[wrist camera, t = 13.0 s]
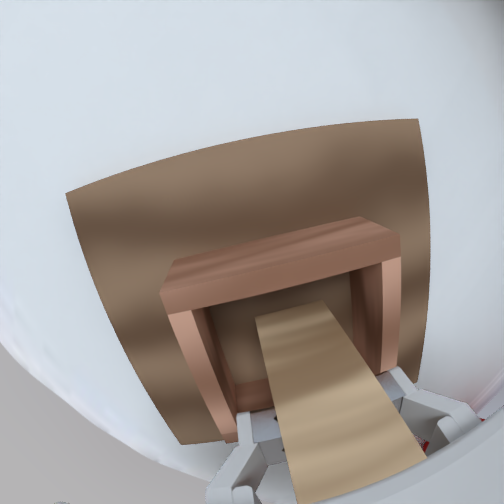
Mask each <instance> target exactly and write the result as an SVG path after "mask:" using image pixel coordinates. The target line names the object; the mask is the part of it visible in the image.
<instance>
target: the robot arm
mask: <svg viewBox="0 0 504 504" xmlns="http://www.w3.org/2000/svg"><path fill="white" fill-rule="evenodd" d="M374 376H375V377H376V379H377V380H378V382H379V383H380V385H381V386H382V388H383V389H384V391H385V392H386V394H387V395H388V397H389V398H390V400H391V401H392V403H393V404H394V406H395V408H396V409H397V411H398V412H399V414H400V415H401V417H402V418H403V420H404V421H405V423H406V425H407V426H408V428H409V429H410V431H411V432H412V434H414V435H416V436H418V437H420V438H422V439H424V440H426V441H428V442H430V443H429V445H428V447H427V449H426V452H425V455H426V456H427V459H425V460H423V461H421V462H419V463H417V464H415V465H413V466H411V467H409V468H407V469H405V470H403V471H401V472H398V473H396V474H394V475H392V476H389V477H387V478H385V479H382V480H380V481H378V482H375V483H373V484H370V485H367V486H365V487H362V488H359V489H357V490H354V491H351V492H348V493H345V494H342V495H339V496H335V497H332V498H329V499H325V500H322V501H318V502H314V503H310V504H504V405H503V406H502V407H501V408H500V409H499V410H497V411H496V412H495V413H493V414H492V415H491V416H489V417H488V418H487V419H485V420H484V421H483V422H482V421H481V419H480V418H479V417H478V416H477V415H476V413H475V412H474V411H473V410H472V409H471V408H470V406H469V405H468V404H467V403H465V402H461V401H458V400H455V399H451V398H448V397H445V396H442V395H439V394H436V393H433V392H430V391H427V390H424V389H419V390H418V389H417V388H416V387H415V386H414V384H413V383H412V382H411V381H410V379H409V378H408V377H407V376H406V374H405V373H404V372H403V371H402V369H401V368H400V367H398V366H397V367H394V368H392V369H389V370H387V371H384V372H382V373H379V374H377V375H374ZM236 419H237V430H238V442H239V446H237V447H235V448H234V449H233V451H232V452H231V454H230V455H229V457H228V458H227V460H226V461H225V463H224V464H223V465H222V467H221V468H220V470H219V471H218V473H217V474H216V475H215V477H214V478H213V480H212V481H211V482H210V484H209V485H208V486H207V488H206V504H262V503H261V502H260V500H259V498H258V497H257V495H256V494H255V492H256V490H257V488H258V486H259V484H260V482H261V480H262V478H263V476H264V474H265V472H266V470H267V467H268V465H272V464H276V463H281V462H285V461H287V458H286V454H285V449H284V445H283V441H282V436H281V432H280V428H279V424H278V419H277V415H276V410H275V406H274V407H269V408H264V409H258V410H253V411H248V412H242V413H237V416H236ZM54 504H69V503H65V502H56V503H54Z"/></svg>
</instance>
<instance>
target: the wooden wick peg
mask: <svg viewBox="0 0 504 504" xmlns="http://www.w3.org/2000/svg"><path fill="white" fill-rule="evenodd" d="M255 321H256V326H257V330H258V335H259V339H260V344H261V348H262V353H263V357H264V362H265V366H266V371H267V375H268V380H269V384H270V389H271V393H272V397H273V402H274V406H275V410H276V415H277V419H278V424H279V428H280V432H281V436H282V441H283V445H284V449H285V454H286V458H287V462H288V466H289V470H290V475H291V479H292V483H293V487H294V491H295V495H296V500H297V504H310V503H314V502H318V501H322V500H325V499H329V498H332V497H335V496H339V495H342V494H345V493H348V492H351V491H354V490H357V489H359V488H362V487H365V486H367V485H370V484H373V483H375V482H378V481H380V480H382V479H385V478H387V477H389V476H392V475H394V474H396V473H398V472H401V471H403V470H405V469H407V468H409V467H411V466H413V465H415V464H417V463H419V462H421V461H423V460H425V459H427V456H426V455H425V453H424V452H423V450H422V448H421V447H420V445H419V444H418V442H417V440H416V439H415V437H414V436H413V434H412V432H411V431H410V429H409V428H408V426H407V425H406V423H405V421H404V420H403V418H402V417H401V415H400V414H399V412H398V411H397V409H396V408H395V406H394V404H393V403H392V401H391V400H390V398H389V397H388V395H387V394H386V392H385V391H384V389H383V388H382V386H381V385H380V383H379V382H378V380H377V379H376V377H375V376H374V374H373V373H372V371H371V370H370V368H369V367H368V365H367V364H366V362H365V361H364V359H363V358H362V356H361V355H360V353H359V352H358V350H357V349H356V347H355V346H354V345H353V343H352V342H351V340H350V339H349V337H348V336H347V334H346V333H345V331H344V330H343V329H342V327H341V326H340V324H339V323H338V321H337V320H336V318H335V317H334V316H333V314H332V313H331V311H330V310H329V308H328V307H327V306H326V304H325V303H324V301H323V300H319V301H315V302H312V303H308V304H304V305H301V306H297V307H293V308H289V309H285V310H281V311H277V312H273V313H269V314H265V315H261V316H257V317H255Z"/></svg>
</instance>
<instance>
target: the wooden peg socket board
mask: <svg viewBox="0 0 504 504" xmlns="http://www.w3.org/2000/svg"><path fill="white" fill-rule="evenodd" d="M65 194H66V197H67V201H68V205H69V209H70V212H71V216H72V219H73V223H74V226H75V229H76V233H77V236H78V239H79V242H80V245H81V248H82V251H83V254H84V257H85V260H86V263H87V265H88V268H89V271H90V274H91V276H92V279H93V281H94V284H95V286H96V289H97V291H98V294H99V296H100V299H101V301H102V304H103V306H104V308H105V311H106V313H107V315H108V317H109V320H110V322H111V324H112V326H113V328H114V330H115V333H116V335H117V337H118V339H119V341H120V343H121V345H122V347H123V349H124V351H125V353H126V355H127V357H128V359H129V361H130V363H131V364H132V366H133V368H134V370H135V372H136V374H137V375H138V377H139V379H140V381H141V383H142V384H143V386H144V388H145V390H146V391H147V393H148V395H149V396H150V398H151V400H152V401H153V403H154V405H155V406H156V408H157V410H158V411H159V413H160V414H161V416H162V417H163V419H164V421H165V422H166V424H167V425H168V427H169V428H170V430H171V431H172V433H173V434H174V435H175V437H176V438H177V440H178V441H179V443H180V444H181V445H188V444H198V443H207V442H215V441H222V440H225V442H226V443H233V442H238V430H237V419H236V416H237V413H242V412H248V411H253V410H258V409H264V408H269V407H274V402H273V397H272V393H271V389H270V384H269V380H268V375H267V371H266V366H265V362H264V357H263V353H262V348H261V344H260V339H259V335H258V330H257V326H256V321H255V317H257V316H261V315H265V314H269V313H273V312H277V311H281V310H285V309H289V308H293V307H297V306H301V305H304V304H308V303H312V302H315V301H319V300H323V301H324V303H325V304H326V306H327V307H328V308H329V310H330V311H331V313H332V314H333V316H334V317H335V318H336V320H337V321H338V323H339V324H340V326H341V327H342V329H343V330H344V331H345V333H346V334H347V336H348V337H349V339H350V340H351V342H352V343H353V345H354V346H355V347H356V349H357V350H358V352H359V353H360V355H361V356H362V358H363V359H364V361H365V362H366V364H367V365H368V367H369V368H370V370H371V371H372V373H373V374H374V375H377V374H379V373H382V372H384V371H387V370H389V369H392V368H394V367H397V366H398V367H400V368H401V369H402V371H403V372H404V373H405V374H406V376H407V377H408V378H409V379H410V381H411V382H412V383H413V384H414V383H416V382H417V380H418V375H419V369H420V364H421V358H422V352H423V345H424V338H425V330H426V321H427V311H428V299H429V283H430V213H429V197H428V185H427V175H426V166H425V158H424V151H423V144H422V138H421V132H420V126H419V121H418V119H395V120H379V121H366V122H354V123H344V124H335V125H327V126H319V127H312V128H305V129H298V130H292V131H286V132H280V133H274V134H268V135H263V136H258V137H253V138H248V139H243V140H238V141H233V142H229V143H224V144H220V145H216V146H212V147H207V148H203V149H199V150H195V151H192V152H188V153H184V154H180V155H177V156H173V157H170V158H166V159H163V160H159V161H156V162H152V163H149V164H146V165H143V166H140V167H136V168H133V169H130V170H127V171H124V172H121V173H118V174H115V175H113V176H110V177H107V178H104V179H101V180H99V181H96V182H93V183H91V184H88V185H85V186H83V187H80V188H78V189H75V190H73V191H70V192H68V193H65Z"/></svg>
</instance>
